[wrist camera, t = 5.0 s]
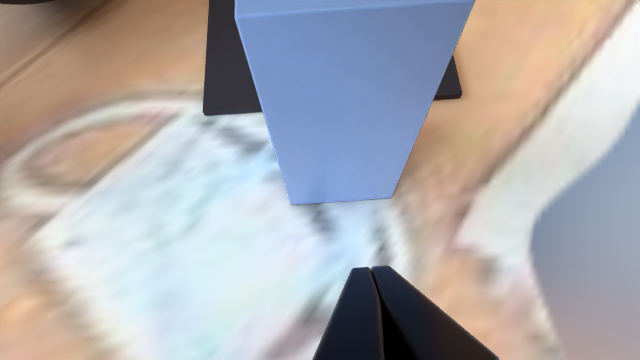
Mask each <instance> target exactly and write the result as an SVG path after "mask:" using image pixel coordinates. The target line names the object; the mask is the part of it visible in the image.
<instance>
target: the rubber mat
mask: <svg viewBox="0 0 640 360" xmlns="http://www.w3.org/2000/svg"><path fill="white" fill-rule="evenodd" d="M461 95H462V90H461V86H460V82H459V78H458V74H457V70H456V65H455V61H454V57H453V54H452V57H451V59H450V61H449V64H448V66H447V68H446V71H445V73H444V75H443V78H442V80H441V82H440V85H439V87H438V90H437V92H436V94H435V97H434V99H449V98H460V97H461ZM434 99H433V100H434ZM248 112H262V107H261V104H260V101H259V97H258V94H257V91H256V87H255V84H254V81H253V77H252V74H251V71H250V67H249V64H248V61H247V57H246V54H245V50H244V47H243V44H242V40H241V37H240V34H239V30H238V27H237V24H236V20H235V0H209V16H208V33H207V49H206V66H205V82H204V99H203V113H204V115H219V114H234V113H248Z"/></svg>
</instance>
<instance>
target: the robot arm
mask: <svg viewBox="0 0 640 360" xmlns="http://www.w3.org/2000/svg"><path fill="white" fill-rule="evenodd" d="M312 360H499V358H498V356H496V355H495V354H494V353H493V352H492V351H490V350H489V349H488V348H487V347H486V346H484V345H483V344H482V343H481V342H480V341H478V340H477V339H476V338H475V337H474V336H472V335H471V334H470V333H469V332H468V331H466V330H465V329H464V328H463V327H462V326H460V325H459V324H458V323H457V322H456V321H455V320H453V319H452V318H451V317H450V316H449V315H447V314H446V313H445V312H444V311H443V310H441V309H440V308H439V307H438V306H437V305H435V304H434V303H433V302H432V301H431V300H429V299H428V298H427V297H426V296H425V295H423V294H422V293H421V292H420V291H419V290H417V289H416V288H415V287H414V286H413V285H412V284H410V283H409V282H408V281H407V280H406V279H404V278H403V277H402V276H401V275H400V274H398V273H397V272H396V271H395V270H394V269H392V268H391V267H390V266H375V267H372V268H371V269H370V268H369V267H361V268H353V269H352V270H351V272H350V274H349V276H348V279H347V281H346V283H345V285H344V288H343V290H342V292H341V295H340V297H339V299H338V302H337V304H336V306H335V309H334V311H333V313H332V316H331V318H330V320H329V322H328V325H327V327H326V329H325V332H324V334H323V336H322V339H321V341H320V343H319V346H318V348H317V350H316V353H315V355H314V357H313V359H312Z"/></svg>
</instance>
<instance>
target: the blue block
mask: <svg viewBox="0 0 640 360" xmlns="http://www.w3.org/2000/svg"><path fill="white" fill-rule="evenodd" d="M474 2H475V0H235V20H236V24H237V27H238V30H239V34H240V37H241V40H242V44H243V47H244V50H245V54H246V57H247V61H248V64H249V67H250V71H251V74H252V77H253V81H254V84H255V87H256V91H257V94H258V97H259V101H260V104H261V107H262V111H263V114H264V117H265V121H266V124H267V127H268V131H269V134H270V137H271V141H272V144H273V148H274V151H275V154H276V158H277V161H278V164H279V168H280V171H281V174H282V178H283V181H284V184H285V188H286V191H287V194H288V198H289V201H290V204H291V205H297V204H312V203H326V202H340V201H355V200H369V199H383V198H391V197H392V195H393V193H394V191H395V188H396V186H397V184H398V181H399V179H400V177H401V174H402V172H403V170H404V167H405V165H406V162H407V160H408V158H409V155H410V153H411V151H412V148H413V146H414V144H415V141H416V139H417V137H418V134H419V132H420V130H421V127H422V125H423V122H424V120H425V118H426V115H427V113H428V111H429V108H430V106H431V104H432V101H433V99H434V97H435V94H436V92H437V90H438V87H439V85H440V82H441V80H442V78H443V75H444V73H445V71H446V68H447V66H448V64H449V61H450V59H451V57H452V54H453V52H454V50H455V47H456V45H457V43H458V40H459V38H460V35H461V33H462V31H463V28H464V26H465V24H466V21H467V19H468V17H469V14H470V12H471V10H472V7H473V5H474Z"/></svg>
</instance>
